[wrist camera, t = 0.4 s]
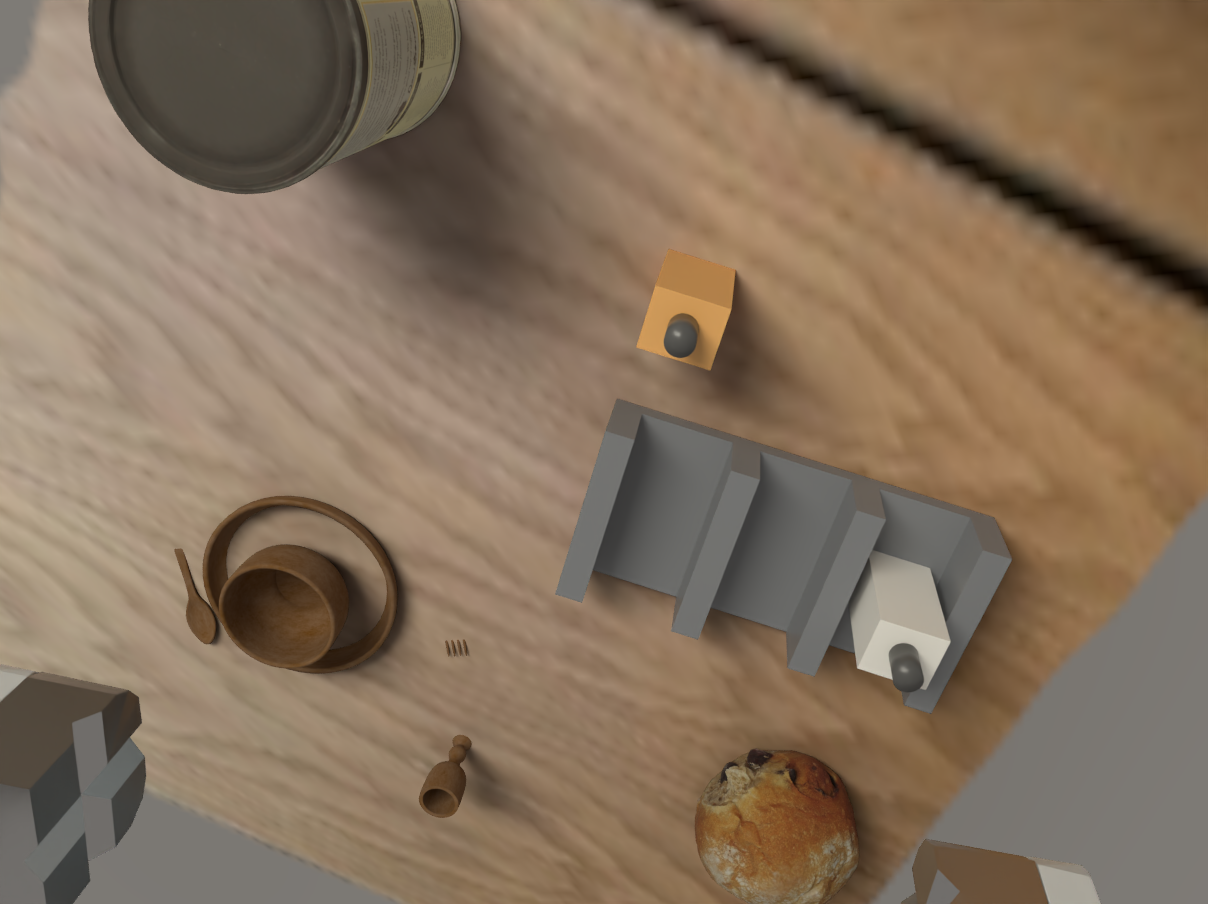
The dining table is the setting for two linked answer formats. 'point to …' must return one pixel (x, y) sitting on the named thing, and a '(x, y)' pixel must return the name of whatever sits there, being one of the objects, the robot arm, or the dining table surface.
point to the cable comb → (769, 537)
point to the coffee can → (270, 80)
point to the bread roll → (777, 829)
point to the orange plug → (688, 310)
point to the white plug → (898, 622)
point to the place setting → (303, 617)
